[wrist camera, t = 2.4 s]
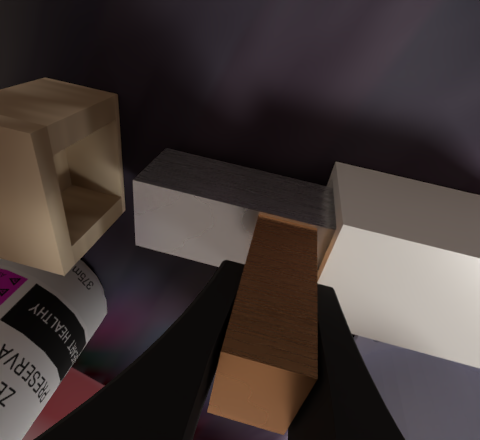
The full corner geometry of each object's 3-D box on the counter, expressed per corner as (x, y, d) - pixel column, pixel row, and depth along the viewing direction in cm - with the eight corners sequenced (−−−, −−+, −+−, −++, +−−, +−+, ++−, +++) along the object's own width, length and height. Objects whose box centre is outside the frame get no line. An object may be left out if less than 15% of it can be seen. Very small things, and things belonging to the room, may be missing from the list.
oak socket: (117, 94, 13) (30, 133, 9) (125, 210, 17) (64, 275, 13) (45, 77, 13) (-72, 108, 9) (67, 195, 17) (-11, 255, 13)
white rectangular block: (509, 202, 12) (591, 285, 9) (446, 281, 15) (489, 370, 11) (335, 161, 13) (342, 224, 9) (304, 244, 16) (300, 319, 12)
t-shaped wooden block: (532, 235, 12) (788, 508, 6) (485, 287, 14) (636, 542, 7) (166, 147, 13) (15, 291, 7) (164, 206, 15) (45, 365, 8)
